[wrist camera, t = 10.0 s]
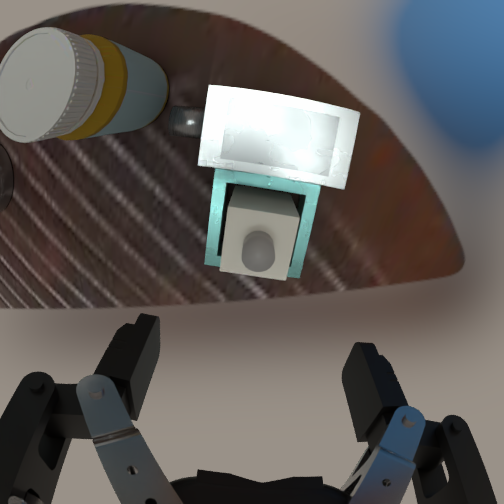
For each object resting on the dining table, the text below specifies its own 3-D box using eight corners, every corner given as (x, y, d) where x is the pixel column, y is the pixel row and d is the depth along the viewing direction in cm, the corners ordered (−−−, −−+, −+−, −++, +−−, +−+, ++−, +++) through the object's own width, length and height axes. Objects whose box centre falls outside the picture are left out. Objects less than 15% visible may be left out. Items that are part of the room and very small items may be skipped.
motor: (171, 244, 30) (147, 284, 23) (187, 90, 24) (161, 80, 17) (303, 264, 31) (315, 309, 24) (335, 113, 25) (363, 112, 18)
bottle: (167, 130, 26) (78, 148, 12) (99, 130, 25) (-14, 154, 12) (175, 56, 23) (94, 6, 9) (105, 61, 23) (-5, 37, 9)
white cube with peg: (235, 185, 28) (225, 215, 19) (290, 194, 28) (303, 227, 20) (228, 236, 30) (216, 284, 22) (280, 244, 30) (287, 294, 22)
